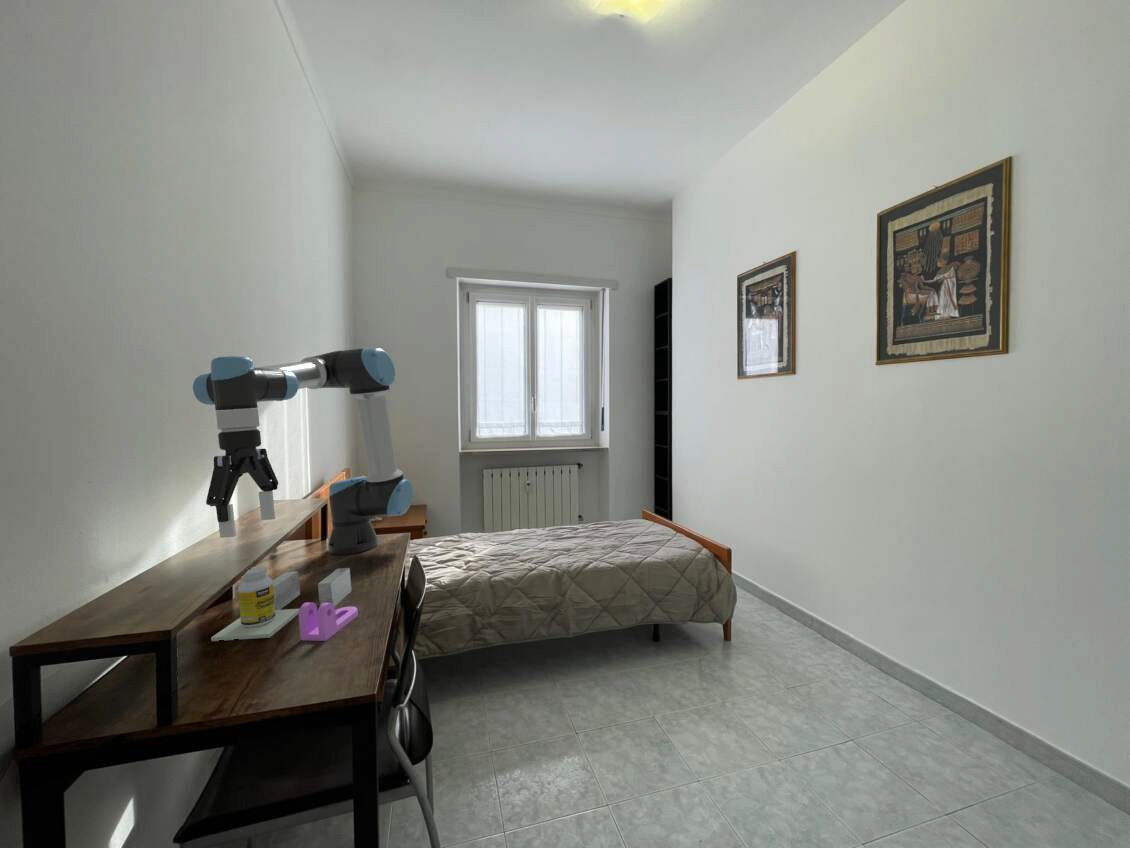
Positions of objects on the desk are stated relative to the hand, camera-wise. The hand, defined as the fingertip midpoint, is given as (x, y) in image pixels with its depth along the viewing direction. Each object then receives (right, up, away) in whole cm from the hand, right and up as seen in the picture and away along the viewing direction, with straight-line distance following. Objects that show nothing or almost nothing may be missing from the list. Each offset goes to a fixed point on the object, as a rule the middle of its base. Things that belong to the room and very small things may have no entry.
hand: (249, 527), depth 106 cm
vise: (+4, -21, +13) cm, 25 cm away
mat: (+1, -22, +1) cm, 22 cm away
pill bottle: (+1, -21, +1) cm, 21 cm away
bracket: (+19, -21, -1) cm, 28 cm away
